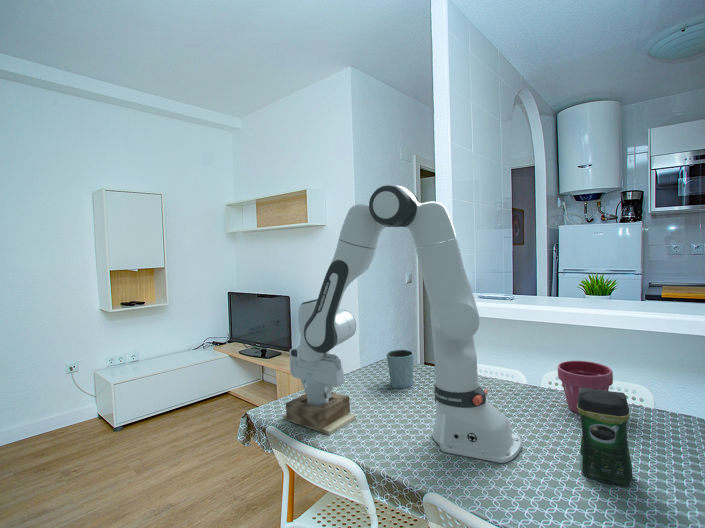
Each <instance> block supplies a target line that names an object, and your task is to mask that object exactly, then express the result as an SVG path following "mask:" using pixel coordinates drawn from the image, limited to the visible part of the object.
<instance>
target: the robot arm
mask: <svg viewBox="0 0 705 528" xmlns="http://www.w3.org/2000/svg"><path fill="white" fill-rule="evenodd" d="M368 202H369V203H368V204H366V203H359V204H355V205H352V206H351V207H350V208H349V210H348V211H347V213H346V215H345V218H344V220H343V224H342V226H341V230H340V233H339V238H338V241H337V245H336V249H335V252H334V255H333V258H332V260H331V262H330V264H329V266H328V269H327V271H326V273H325V277H323V278H324V279H323V282H322V285H321V288H320V290H319V293H318V297H317V298H316V299H310V300H307V301H303V302H302V303H300V305H299V307H298V311H297V312H298V315H297V317H298V320H297V322H298V331H299V334H300V339H299V346H295V347H293V348H290V349H289V351H288V353H289V356H290V358H289V372H290V374H291V376H292V377H293V378H295V379H300V381H301V382H300V383H301V385H302V386H303V388H304V394H306V393H307V386H306V374H307V373H311V374H314V380H315V382H316V383H321V384H325V385H326V388H327V390H326V392H324V398H328V399H329V398H331V392H333V389H334V388H337V387H340V386H342V385H343V384H344V383H345V375H344V370H343V365H342V361H341V358H340V357H339V356H338V354H335V353H334V354H332V353H330V351H332V349H334V348H335V347H337V346H339V345H340V344H343V343H344V342H346V341H348V340H350V338H352V337H353V336H354V335H355V333H356V330H357V323H356V319H355V317H354V316H353V314H352V313H351V312H350V311H348V310H346V309H340V305H341V302H342V299H343V296H344V294H345V291H346V290H347V288H348V287H349V285H351V283H352V282H354V281H355V280H356V279H357V278H359V277H360V276H361V275H363V274H364V273H365V272H367V271H368V270H369V268H370V266H371V265H372V263H373V260H374V257H375V254H376V250H377V248H378V247H377V246H378V243H379V237H380V235H381V233H382V232H383V230H384V229H387V228H407V229H408V230H409V232H410V233H411V237H412V239H413V242H414V247H415V251H416V255H417V258H418V263H419V269H420V271H421V276H422V279H423V282H424V287H425V290H426V294H427V297H428V302H429V305H430V323H431V333H432V334H431V336H432V345H433V355H434V356H433V358H434V374H435V375H434V376H435V383H434V392H433V393H434V402H435V419H434V425H433V430H432V433H431V434H432V435H431V436H432V438H433V440H434V441H435V442H436V444H438V445H439V447H440V450H441V451H442V452H444V453H448V454H453V455H458V456H463V457H469V458H474V459H480V460H483V461H484V460H485V461H489V462H495V463H500V464H505V463H508V462H510V461H512V460H514V459H515V458H516V457H517V456H518V455H519V453H520V452H521V450H522V446H523V445H522V439H521V437H520V436H519V435H518V434H515V433H513V432H512V428H511V424H510V421H509V419H508V418H507V416H506V415H504V414H503V413H502V412H500V411H499V410H498V409H497V408H495V407H494V405H492V404H491V403H490V402H489V401H487V394H488V392H489V391H488V388H485V389H483V388H482V387H481V386H480V384H479V374H478V373H479V372H478V357H477V352H476V347H475V339H474V335H475V334H476V333H477V332H478V329H479V327H480V315H479V310H478V307H477V304H476V300H475V297H474V294H473V290H472V287H471V284H470V281H469V277H468V275H467V272H466V270H465V266H464V261H463V257H462V254H461V250H460V246H459V241H458V238H457V234H456V231H455V226H454V224H453V222H452V219H451V216H450V214H449V212H448V210H447V208H446V206H445V205H444V204H442V203H441V202H438V201H427V202H422V203H421V202H419V199H418V197H417V195H415V194H414V192H412V191H410V190H408V189H407V188H406V187H404V186H400V185H395V184H385V185H381V186H380V187H378V188H377V189H375V191H373V193H372V194H371V196H370V198H369V201H368Z"/></svg>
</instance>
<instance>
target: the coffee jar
mask: <svg viewBox="0 0 705 528" xmlns="http://www.w3.org/2000/svg"><path fill="white" fill-rule="evenodd" d="M627 399H628V398H627V396H626V394H625V393H624V392H621V391H620V392H618V391H610V390H608V391H605V390H597V389H589V388H584V387H583V388H581V389H580V391H579V396H578V403H577V409H578V412H579V413H578V414H579V416H580V424H581V425H580V426H581V429H580V430H581V432H580V433H581V435H580V451H579V452H580V453H579V469H580V471H581V473H582V474H584V475H585V476H586V477H588V478H590V479H593V480H597V481H600V482H605V483H609V484H612V485H616V486H617V485H618V486H626V485H629V484H631V483H632V481H633V465H632V461H631V460H632V459H631V454H630V449H629V447H630V446H629V442H628V441H629V440H628V429H627V424H628V422H629V419H630V415H631V414H630V407H629V404H628V400H627Z"/></svg>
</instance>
